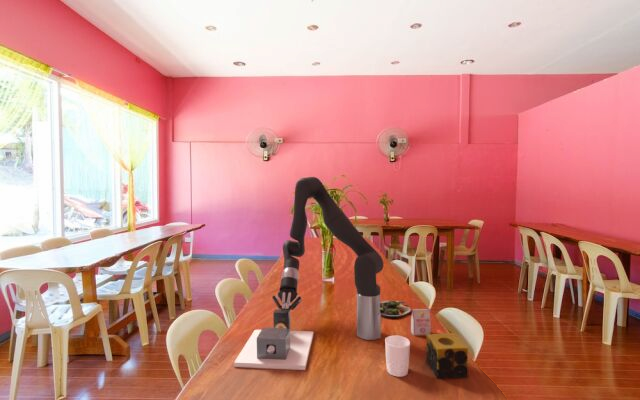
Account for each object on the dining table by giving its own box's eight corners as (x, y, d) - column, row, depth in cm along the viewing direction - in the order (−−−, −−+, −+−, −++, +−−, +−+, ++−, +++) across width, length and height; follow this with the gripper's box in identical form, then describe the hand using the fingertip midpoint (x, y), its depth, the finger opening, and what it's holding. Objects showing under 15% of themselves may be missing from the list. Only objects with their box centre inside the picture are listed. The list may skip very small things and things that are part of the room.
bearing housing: (290, 347, 119) (289, 328, 118) (285, 359, 111) (285, 339, 110) (263, 346, 119) (262, 327, 119) (257, 358, 112) (256, 338, 111)
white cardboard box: (410, 331, 134) (411, 307, 133) (427, 331, 134) (427, 307, 133) (413, 335, 130) (413, 311, 129) (430, 335, 130) (430, 311, 129)
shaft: (290, 332, 130) (290, 309, 129) (279, 359, 110) (278, 333, 109) (275, 331, 130) (275, 309, 130) (261, 358, 110) (261, 333, 110)
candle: (454, 360, 112) (455, 332, 111) (469, 378, 102) (469, 347, 101) (425, 361, 112) (425, 333, 111) (436, 379, 101) (437, 348, 101)
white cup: (392, 380, 101) (392, 348, 101) (380, 366, 109) (380, 337, 108) (414, 375, 103) (414, 345, 103) (401, 362, 111) (402, 333, 110)
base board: (313, 335, 131) (313, 331, 131) (305, 370, 107) (305, 365, 107) (255, 333, 133) (255, 329, 133) (234, 366, 109) (234, 362, 109)
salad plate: (392, 300, 169) (392, 291, 168) (420, 311, 154) (420, 302, 153) (363, 308, 158) (363, 299, 158) (390, 322, 143) (390, 311, 143)
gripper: (273, 275, 142) (266, 314, 131) (303, 276, 141) (299, 315, 129) (276, 283, 148) (270, 322, 136) (305, 284, 146) (301, 323, 135)
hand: (284, 318), depth 133 cm, fingers closed
